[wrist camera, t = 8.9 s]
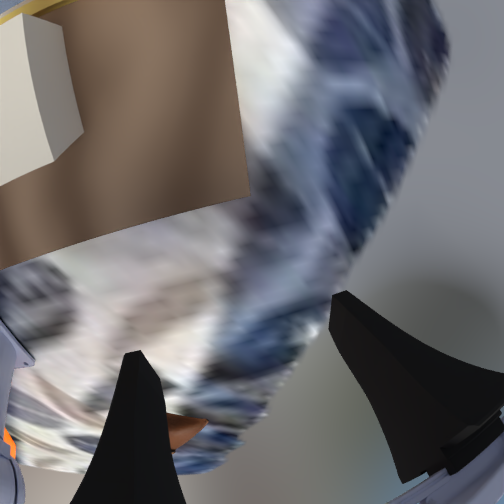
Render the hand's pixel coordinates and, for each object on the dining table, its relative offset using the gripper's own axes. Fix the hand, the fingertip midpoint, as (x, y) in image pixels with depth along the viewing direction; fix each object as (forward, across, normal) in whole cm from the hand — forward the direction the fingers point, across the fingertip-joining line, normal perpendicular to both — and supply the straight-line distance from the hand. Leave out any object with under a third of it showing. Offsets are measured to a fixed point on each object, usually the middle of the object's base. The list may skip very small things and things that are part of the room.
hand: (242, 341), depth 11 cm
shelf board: (+9, +6, -8) cm, 14 cm away
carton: (+9, +7, -10) cm, 15 cm away
